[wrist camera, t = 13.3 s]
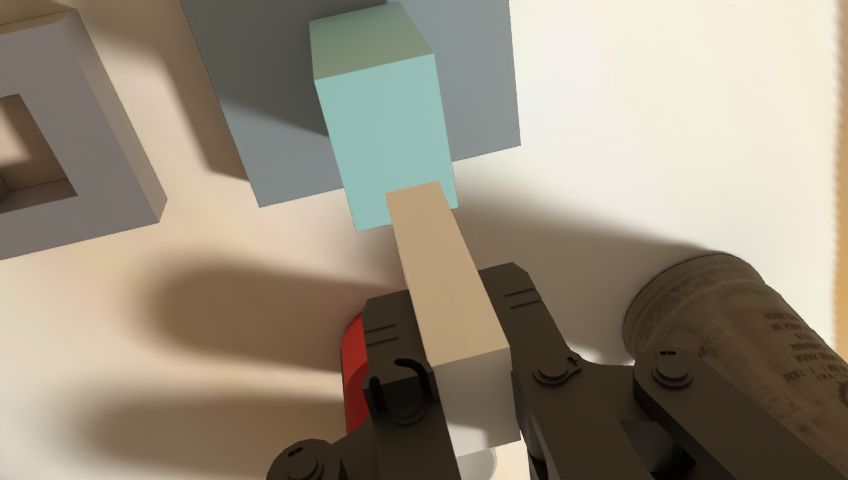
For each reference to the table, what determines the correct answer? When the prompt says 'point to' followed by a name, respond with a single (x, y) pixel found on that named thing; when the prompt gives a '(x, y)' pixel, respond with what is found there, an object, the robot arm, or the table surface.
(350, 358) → the canned food
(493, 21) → the port panel
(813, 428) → the beer stein
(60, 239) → the hollow square frame
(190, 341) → the table surface
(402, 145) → the plug
